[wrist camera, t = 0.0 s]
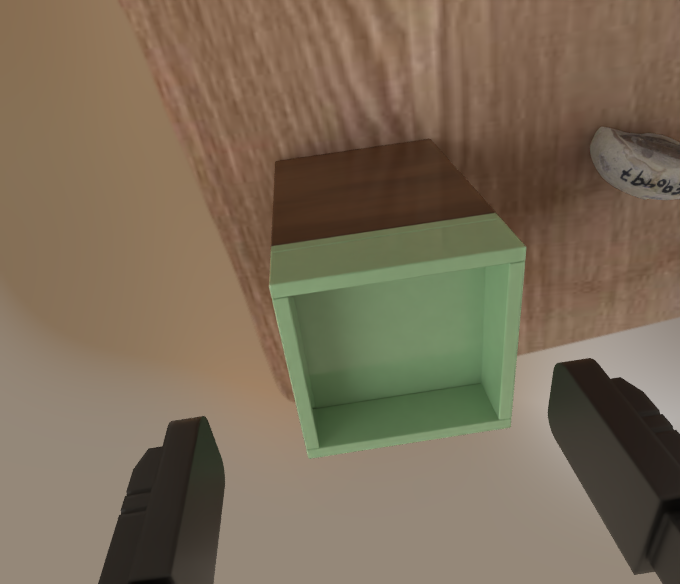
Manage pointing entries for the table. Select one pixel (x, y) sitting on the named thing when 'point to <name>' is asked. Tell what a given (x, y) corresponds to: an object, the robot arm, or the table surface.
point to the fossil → (638, 163)
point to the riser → (368, 192)
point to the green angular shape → (400, 332)
